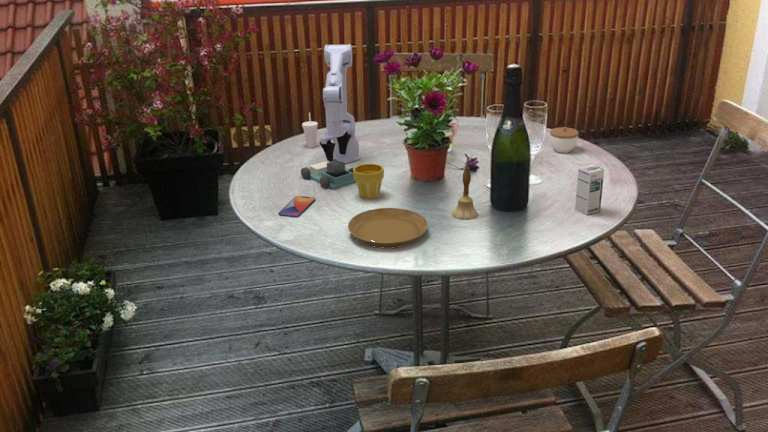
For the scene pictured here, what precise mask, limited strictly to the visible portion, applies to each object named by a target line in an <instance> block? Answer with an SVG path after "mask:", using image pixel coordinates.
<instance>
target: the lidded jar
mask: <svg viewBox="0 0 768 432" xmlns="http://www.w3.org/2000/svg"><path fill="white" fill-rule="evenodd" d="M579 134H580V133H579V130H577V129H575V128H571V127H566V126H563V127H561V126H560V127H555V128H552V129H550V131H549V140H550V141H549V142H550V145H551V147H552V148H553V149H554V151H555V152H556V153H560V154H569V153H571V151H572V150H573V149H574V148H575V147H576V145H578V144H577V143H578V140H579V139H578V138H579Z"/></svg>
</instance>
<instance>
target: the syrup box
mask: <svg viewBox="0 0 768 432" xmlns="http://www.w3.org/2000/svg"><path fill="white" fill-rule="evenodd" d="M604 174H605V169H604V168H602V167H600V166H598V165H595V164H589V165H585V166H581V167H578V168H577V178H576V179H577V180H576V191H575V204H574V209H575V210H577V211H578V212H580V213H582V214H584V215H586V216H588V215H591V214H594V213H599V212H601V209H602V208H601V207H602V197H603V196H602V195H603V189H604V188H603V185H604V176H605V175H604Z"/></svg>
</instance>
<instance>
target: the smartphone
mask: <svg viewBox="0 0 768 432" xmlns="http://www.w3.org/2000/svg"><path fill="white" fill-rule="evenodd" d="M315 202H316V198H315V197H312V196H303V195H297V196H295V197H293V198H292V200H290V201H289V202H288V203H287V204H286V205H285V206H284V207H283V208H282V209H281V210H280V211H279V212H278V213H277V214H278V216H280V217H288V218H299V217H300V216H302V215H303V214H304V213H305V212H306V211H307V210H308V209H309V208H310V207H311V206H312V205H313V204H314V203H315Z"/></svg>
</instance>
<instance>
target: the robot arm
mask: <svg viewBox="0 0 768 432" xmlns="http://www.w3.org/2000/svg"><path fill="white" fill-rule="evenodd" d="M323 51H324V52H323V53H324V55H323V56H324V61H325V63H326V65H327V68H330V71H328V72H327V73H326V79H325V80H326V81H325V87H323V88H322V101H323V106H324V108H325V123H326V125H325V126H326V130H324V135H323V136H321V137H320V141H319V145H320V147H321V148H322V149H323V152H324V155H325V158H326V162H329V161H333V159H336V160H337V161H340V162H345V164H348V163H352V162H355V161H359V160H361V157H360V144H359V139H358V138H357V137H356V122H355V121H356V120H355V117H354V116H353V115H352V114H351V113H349V112H348V98H347V97H348V96H347V95H348V94H347V71H348V68H350V67H352V66H353V46H352V45H351V44H350V43H348V44H325V46H324V50H323Z"/></svg>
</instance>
